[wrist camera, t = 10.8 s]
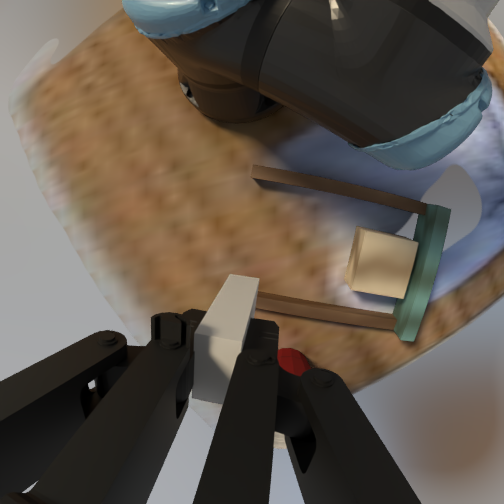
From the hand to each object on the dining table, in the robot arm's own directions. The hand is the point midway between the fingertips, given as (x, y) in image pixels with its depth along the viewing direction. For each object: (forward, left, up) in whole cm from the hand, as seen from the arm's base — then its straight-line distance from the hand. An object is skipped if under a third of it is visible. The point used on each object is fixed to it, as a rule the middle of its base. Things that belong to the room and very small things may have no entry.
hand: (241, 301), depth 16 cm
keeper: (0, +14, -23) cm, 27 cm away
